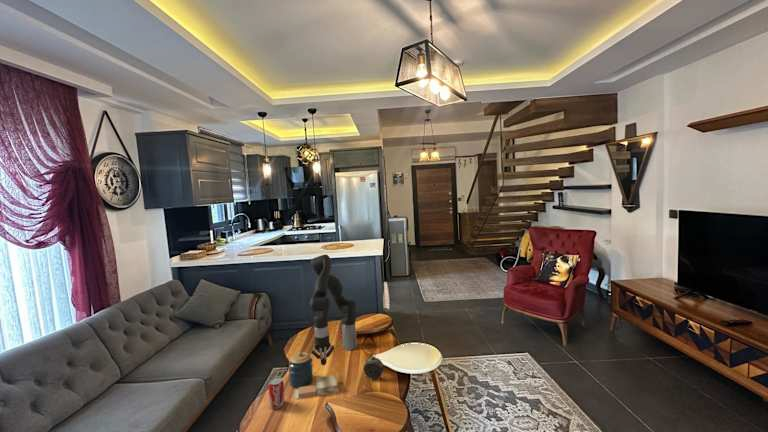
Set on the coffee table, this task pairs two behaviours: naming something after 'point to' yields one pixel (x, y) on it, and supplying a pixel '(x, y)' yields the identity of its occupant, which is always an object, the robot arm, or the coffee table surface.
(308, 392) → the pink block
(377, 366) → the alarm clock
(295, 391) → the mat
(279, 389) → the soda can
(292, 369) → the canister
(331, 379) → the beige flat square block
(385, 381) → the coffee table surface
